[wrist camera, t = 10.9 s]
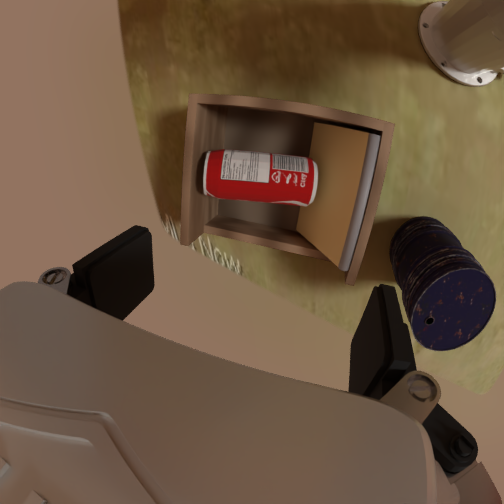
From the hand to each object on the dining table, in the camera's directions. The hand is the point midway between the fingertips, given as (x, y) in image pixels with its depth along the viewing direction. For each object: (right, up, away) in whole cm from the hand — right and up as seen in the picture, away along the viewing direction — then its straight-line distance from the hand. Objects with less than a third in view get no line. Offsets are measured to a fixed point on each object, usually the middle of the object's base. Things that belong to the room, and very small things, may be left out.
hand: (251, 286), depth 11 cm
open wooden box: (+5, +11, +24) cm, 27 cm away
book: (+9, +8, +19) cm, 23 cm away
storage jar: (+23, +2, +23) cm, 33 cm away
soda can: (+7, +9, +20) cm, 23 cm away
